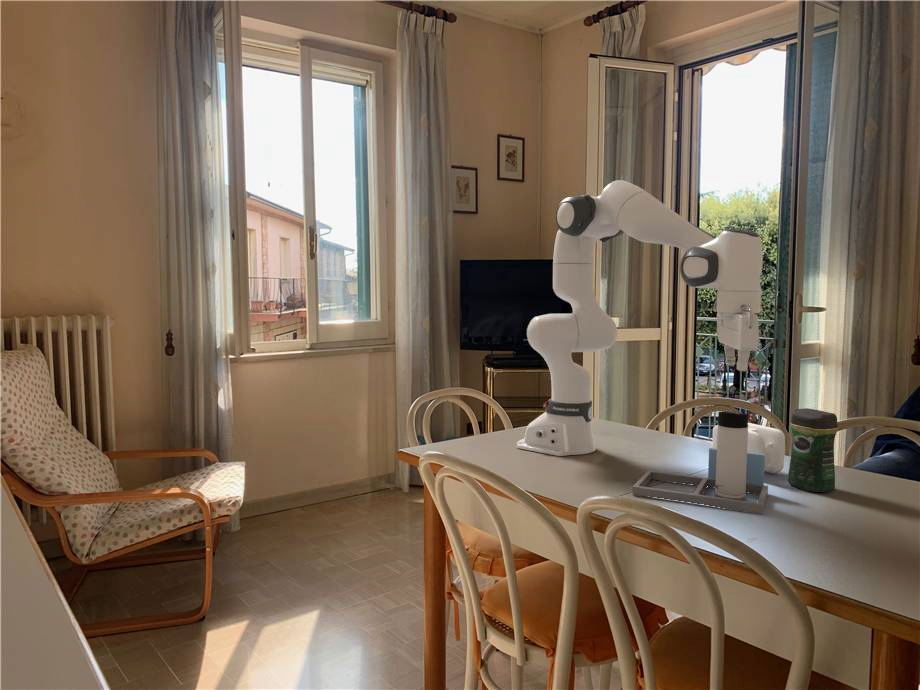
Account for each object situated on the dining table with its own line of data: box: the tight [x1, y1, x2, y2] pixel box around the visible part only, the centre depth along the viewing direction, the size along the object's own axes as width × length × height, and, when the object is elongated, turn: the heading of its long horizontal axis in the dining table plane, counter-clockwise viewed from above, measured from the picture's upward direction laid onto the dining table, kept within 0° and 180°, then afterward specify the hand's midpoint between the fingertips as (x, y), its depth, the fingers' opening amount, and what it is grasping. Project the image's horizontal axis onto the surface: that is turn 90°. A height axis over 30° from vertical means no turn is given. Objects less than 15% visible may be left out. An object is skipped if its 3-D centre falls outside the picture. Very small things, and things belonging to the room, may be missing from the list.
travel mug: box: [714, 411, 749, 501], centre depth 153 cm, size 6×7×20 cm
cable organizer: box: [711, 422, 786, 474], centre depth 176 cm, size 15×11×12 cm
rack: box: [632, 447, 769, 515], centre depth 157 cm, size 27×16×9 cm, turn 62°
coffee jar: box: [787, 407, 839, 493], centre depth 161 cm, size 10×8×19 cm
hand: (735, 367), depth 151 cm, fingers open, 8 cm apart
